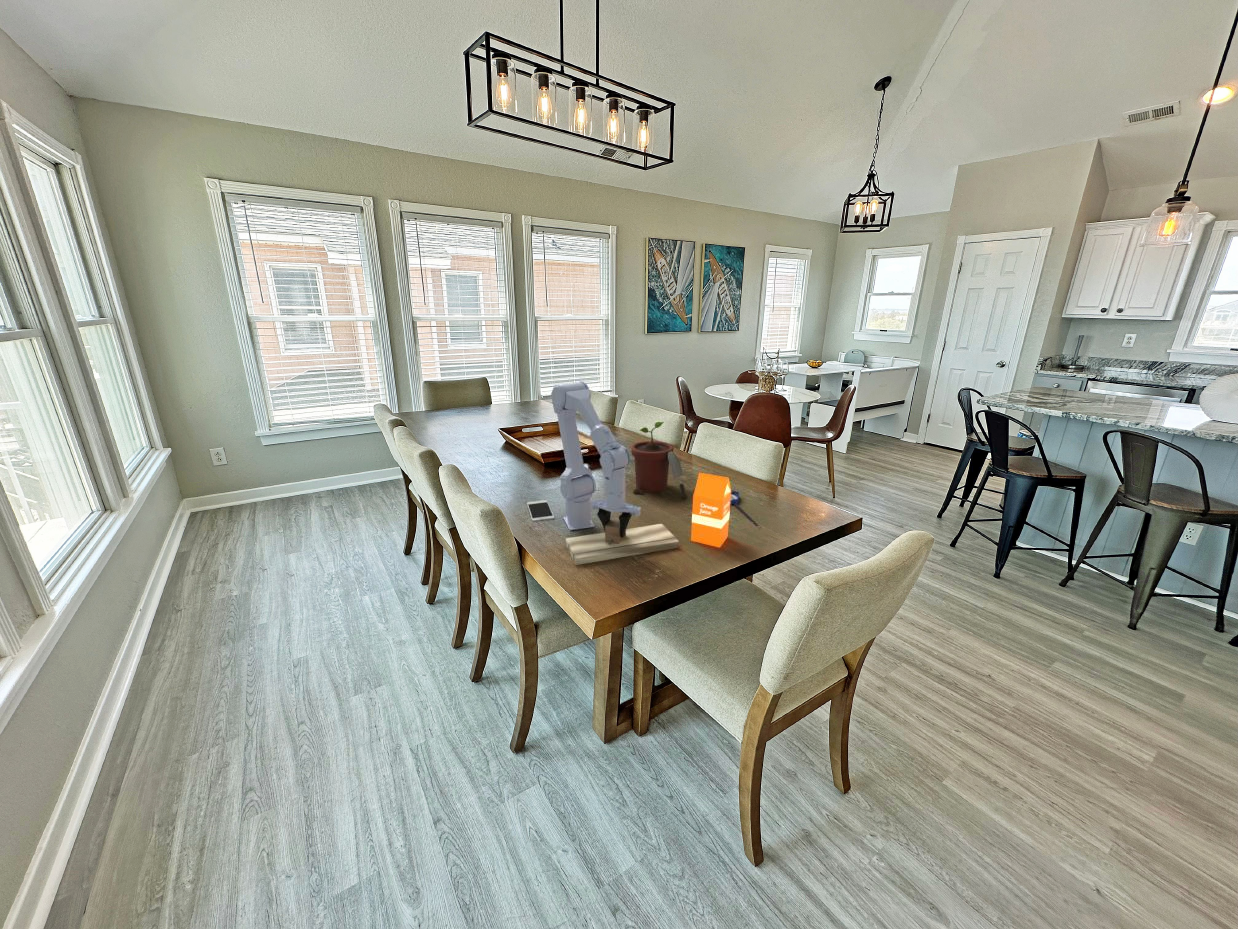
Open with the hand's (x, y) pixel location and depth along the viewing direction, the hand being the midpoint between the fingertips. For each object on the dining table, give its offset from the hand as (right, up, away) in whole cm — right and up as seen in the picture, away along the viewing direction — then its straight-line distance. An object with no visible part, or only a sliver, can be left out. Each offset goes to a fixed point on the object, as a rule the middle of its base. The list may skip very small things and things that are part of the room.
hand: (615, 534), depth 136 cm
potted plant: (+15, +10, +42) cm, 46 cm away
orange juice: (+28, -2, +5) cm, 28 cm away
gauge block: (0, -1, +1) cm, 1 cm away
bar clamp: (+41, +3, +22) cm, 47 cm away
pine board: (+2, -3, +1) cm, 4 cm away
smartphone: (-25, +4, +24) cm, 35 cm away
